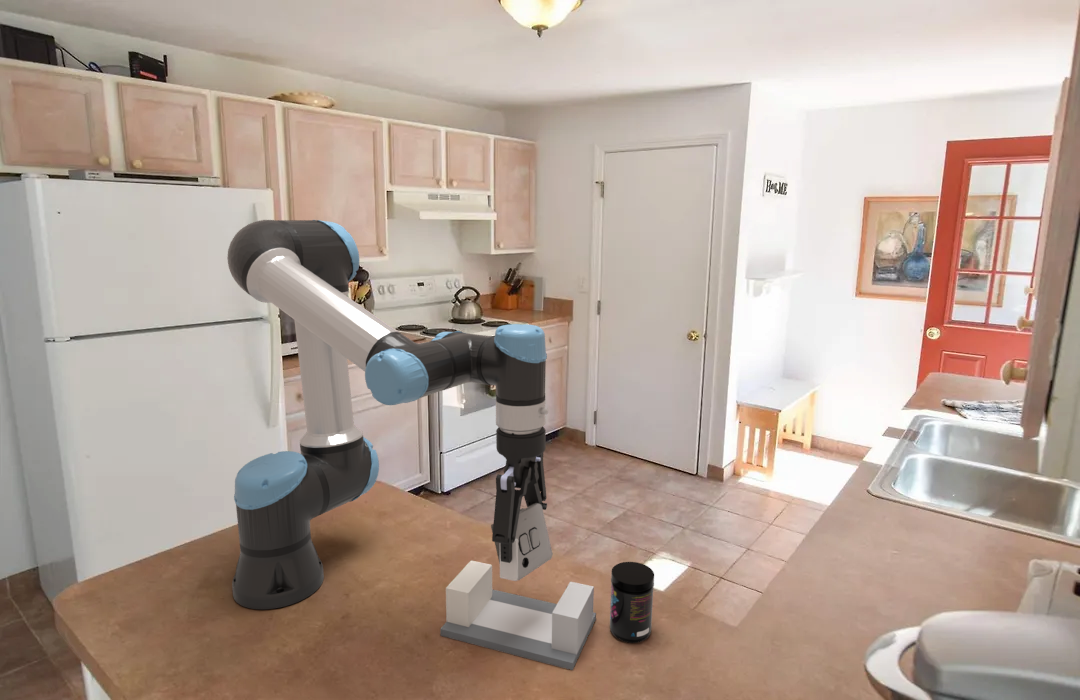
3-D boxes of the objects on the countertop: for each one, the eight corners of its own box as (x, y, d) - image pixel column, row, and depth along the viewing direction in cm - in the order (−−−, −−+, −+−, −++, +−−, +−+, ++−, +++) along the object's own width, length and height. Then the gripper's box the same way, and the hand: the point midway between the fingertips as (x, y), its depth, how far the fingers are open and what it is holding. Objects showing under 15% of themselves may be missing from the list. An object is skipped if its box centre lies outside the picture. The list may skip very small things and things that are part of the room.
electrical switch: (516, 584, 94) (511, 525, 93) (491, 575, 97) (486, 518, 96) (553, 559, 101) (549, 504, 100) (529, 551, 105) (525, 498, 103)
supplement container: (630, 613, 106) (632, 557, 103) (660, 634, 100) (663, 575, 98) (600, 628, 102) (602, 570, 100) (630, 651, 96) (632, 589, 94)
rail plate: (440, 635, 99) (439, 594, 98) (476, 591, 111) (476, 554, 110) (572, 670, 92) (573, 626, 90) (595, 619, 104) (597, 580, 102)
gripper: (516, 453, 83) (516, 605, 88) (566, 409, 104) (565, 534, 108) (465, 447, 86) (468, 594, 90) (524, 405, 106) (525, 527, 111)
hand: (521, 561), depth 99 cm, fingers closed on electrical switch, 9 cm apart
